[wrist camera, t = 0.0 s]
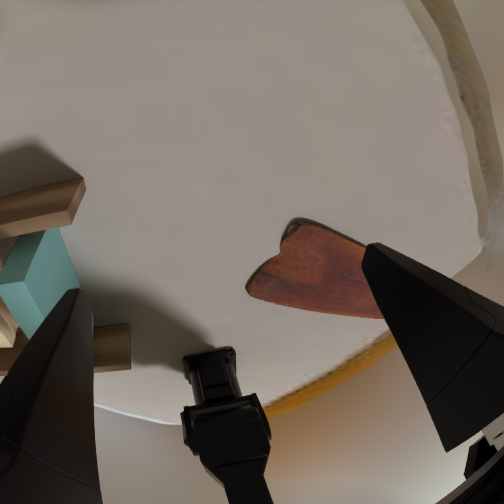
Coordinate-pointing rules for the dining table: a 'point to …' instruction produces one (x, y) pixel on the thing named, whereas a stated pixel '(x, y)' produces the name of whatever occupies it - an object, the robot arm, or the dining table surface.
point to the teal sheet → (36, 278)
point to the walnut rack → (47, 217)
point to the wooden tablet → (316, 274)
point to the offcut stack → (7, 326)
